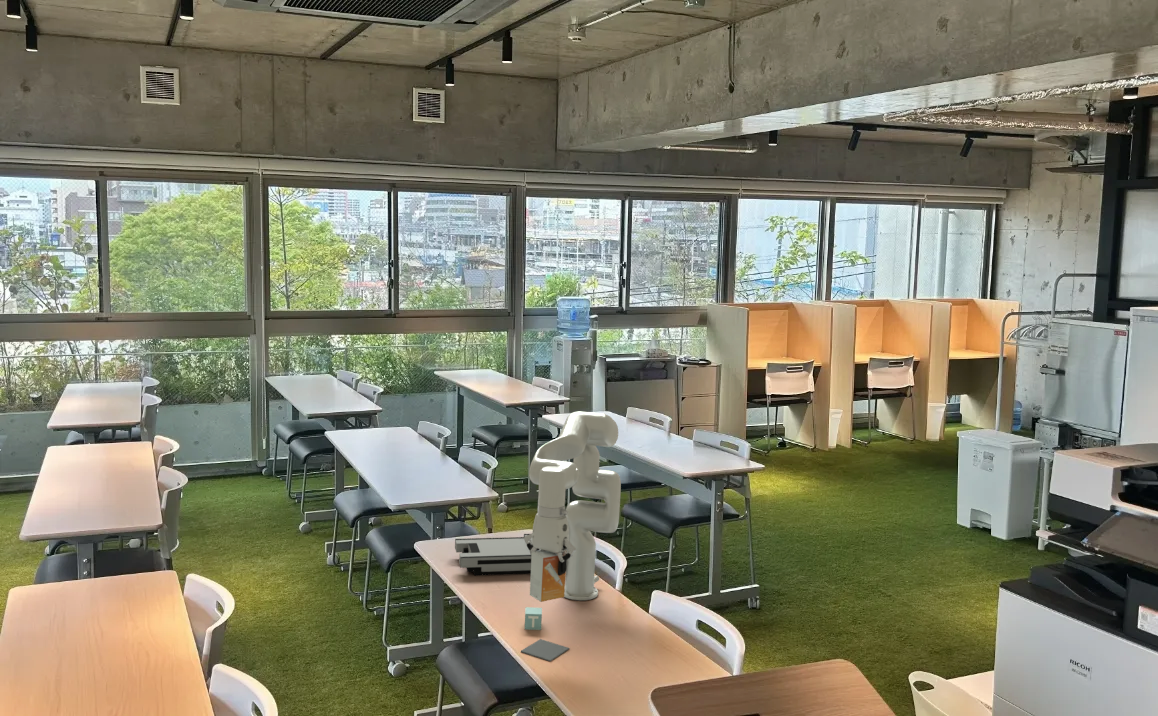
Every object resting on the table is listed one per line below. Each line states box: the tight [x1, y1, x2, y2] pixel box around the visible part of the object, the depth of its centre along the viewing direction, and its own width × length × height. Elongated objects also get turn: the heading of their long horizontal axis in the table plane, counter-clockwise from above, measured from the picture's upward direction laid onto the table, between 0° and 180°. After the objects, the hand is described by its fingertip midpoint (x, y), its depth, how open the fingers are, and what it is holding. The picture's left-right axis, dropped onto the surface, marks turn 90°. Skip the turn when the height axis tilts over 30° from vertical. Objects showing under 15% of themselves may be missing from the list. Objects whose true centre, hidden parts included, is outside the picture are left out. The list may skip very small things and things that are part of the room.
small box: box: [529, 550, 566, 603], centre depth 271 cm, size 8×6×13 cm
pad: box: [520, 638, 570, 662], centre depth 274 cm, size 10×10×1 cm
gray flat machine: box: [454, 533, 541, 577], centre depth 342 cm, size 21×32×8 cm, turn 103°
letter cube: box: [524, 606, 543, 631], centre depth 290 cm, size 5×5×5 cm
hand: (548, 570), depth 271 cm, fingers closed on small box, 8 cm apart
